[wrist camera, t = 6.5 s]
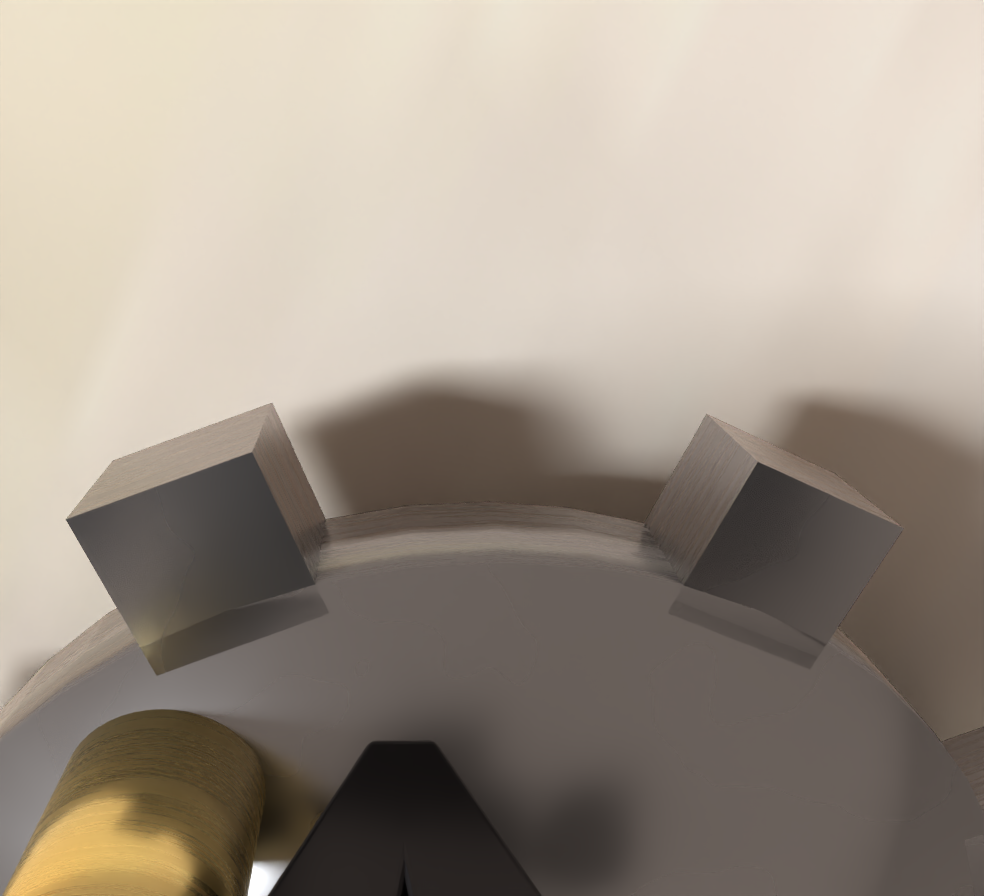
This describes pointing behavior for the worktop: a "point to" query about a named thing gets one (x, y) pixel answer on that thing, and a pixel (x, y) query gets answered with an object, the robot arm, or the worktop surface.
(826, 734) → the sprocket
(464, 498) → the worktop surface
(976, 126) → the worktop surface
